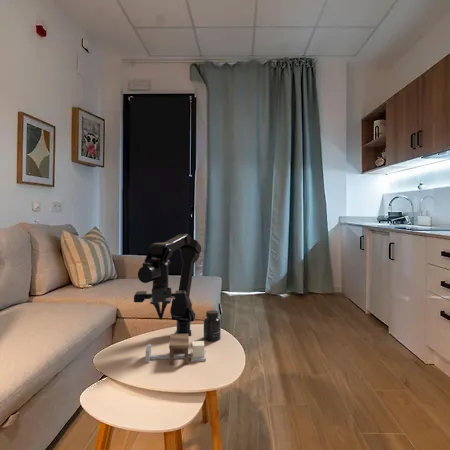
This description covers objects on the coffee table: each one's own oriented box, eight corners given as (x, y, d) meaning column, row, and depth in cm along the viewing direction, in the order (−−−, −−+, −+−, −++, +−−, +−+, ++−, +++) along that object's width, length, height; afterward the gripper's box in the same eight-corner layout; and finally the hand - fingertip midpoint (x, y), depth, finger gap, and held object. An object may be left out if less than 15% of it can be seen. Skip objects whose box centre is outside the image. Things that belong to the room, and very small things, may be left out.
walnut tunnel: (170, 352, 127) (170, 333, 126) (188, 351, 127) (188, 333, 127) (169, 365, 116) (169, 345, 116) (188, 365, 117) (188, 345, 116)
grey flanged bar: (147, 354, 124) (147, 343, 124) (205, 352, 126) (205, 341, 126) (145, 363, 117) (145, 351, 117) (205, 361, 119) (205, 349, 119)
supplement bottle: (218, 345, 136) (218, 315, 135) (201, 344, 137) (201, 313, 137) (222, 338, 143) (222, 309, 142) (206, 337, 144) (206, 308, 143)
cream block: (192, 352, 124) (192, 341, 124) (203, 352, 125) (203, 341, 124) (192, 357, 120) (192, 345, 120) (204, 356, 121) (204, 345, 120)
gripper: (131, 282, 121) (131, 327, 121) (185, 281, 122) (185, 325, 123) (135, 276, 132) (136, 317, 133) (186, 275, 134) (186, 315, 134)
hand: (160, 319), depth 130 cm, fingers closed
